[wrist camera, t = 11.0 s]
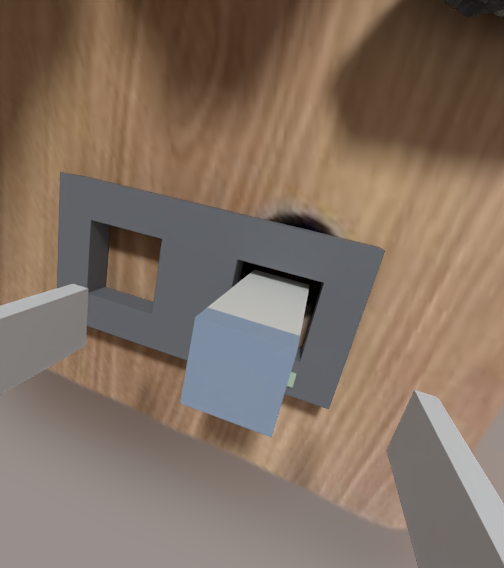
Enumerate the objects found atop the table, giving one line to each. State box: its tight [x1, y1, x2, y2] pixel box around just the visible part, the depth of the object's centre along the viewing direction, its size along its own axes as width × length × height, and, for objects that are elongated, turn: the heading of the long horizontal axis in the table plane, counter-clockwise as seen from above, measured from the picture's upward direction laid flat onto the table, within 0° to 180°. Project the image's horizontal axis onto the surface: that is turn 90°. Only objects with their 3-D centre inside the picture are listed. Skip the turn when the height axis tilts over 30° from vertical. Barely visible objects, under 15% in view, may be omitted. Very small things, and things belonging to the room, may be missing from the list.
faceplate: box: [57, 172, 385, 409], centre depth 20 cm, size 22×11×2 cm, turn 77°
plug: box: [180, 270, 310, 437], centre depth 16 cm, size 4×4×10 cm
